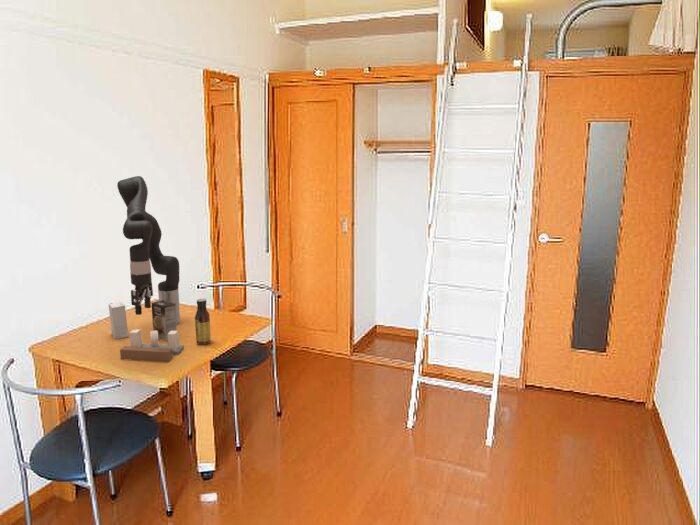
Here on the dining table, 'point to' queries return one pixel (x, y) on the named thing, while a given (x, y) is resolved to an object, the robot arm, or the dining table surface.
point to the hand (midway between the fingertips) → (143, 311)
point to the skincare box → (118, 320)
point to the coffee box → (164, 318)
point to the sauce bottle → (202, 323)
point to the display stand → (172, 340)
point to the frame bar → (146, 353)
